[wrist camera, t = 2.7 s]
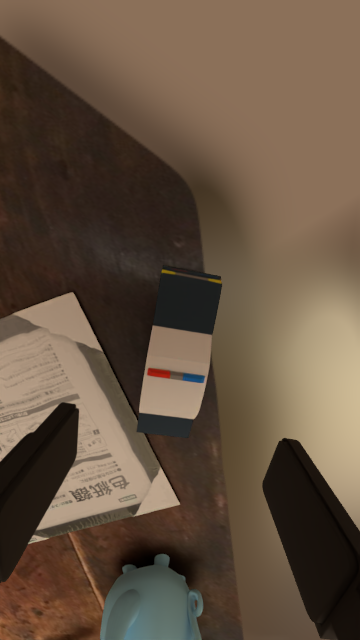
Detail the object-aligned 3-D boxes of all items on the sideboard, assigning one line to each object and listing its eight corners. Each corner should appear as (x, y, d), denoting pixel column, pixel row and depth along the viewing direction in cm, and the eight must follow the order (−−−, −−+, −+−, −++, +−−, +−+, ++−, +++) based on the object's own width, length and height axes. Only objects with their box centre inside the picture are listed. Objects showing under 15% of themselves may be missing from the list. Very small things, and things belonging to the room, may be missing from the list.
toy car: (216, 276, 18) (233, 276, 13) (185, 419, 22) (189, 461, 17) (163, 266, 18) (160, 263, 13) (140, 413, 21) (131, 455, 16)
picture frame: (72, 289, 18) (180, 506, 25) (74, 288, 18) (180, 502, 25) (-154, 374, 20) (5, 551, 27) (-148, 372, 20) (8, 547, 28)
